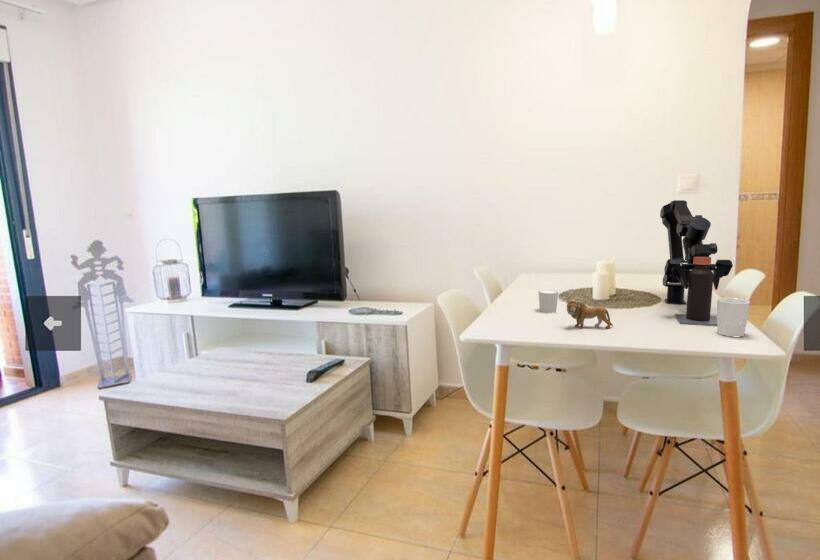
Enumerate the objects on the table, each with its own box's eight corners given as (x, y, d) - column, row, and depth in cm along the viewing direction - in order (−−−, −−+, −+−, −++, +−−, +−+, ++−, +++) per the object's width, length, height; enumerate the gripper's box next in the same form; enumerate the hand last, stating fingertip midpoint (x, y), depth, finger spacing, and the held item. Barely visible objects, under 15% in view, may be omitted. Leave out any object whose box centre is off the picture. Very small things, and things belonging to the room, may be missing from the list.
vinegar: (680, 317, 166) (685, 256, 162) (697, 315, 167) (702, 255, 164) (697, 322, 159) (702, 258, 156) (715, 320, 161) (720, 257, 158)
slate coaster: (674, 315, 171) (674, 313, 171) (715, 317, 167) (715, 315, 167) (679, 323, 160) (679, 322, 160) (723, 326, 156) (723, 324, 155)
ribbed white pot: (538, 312, 179) (538, 293, 178) (537, 308, 185) (538, 289, 184) (558, 313, 177) (558, 293, 176) (557, 309, 184) (558, 290, 183)
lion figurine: (569, 330, 155) (570, 301, 153) (563, 326, 160) (564, 298, 159) (616, 329, 155) (617, 300, 154) (609, 324, 161) (610, 296, 159)
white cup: (715, 336, 146) (718, 302, 144) (714, 329, 153) (716, 297, 151) (748, 339, 142) (751, 304, 140) (745, 332, 149) (748, 299, 147)
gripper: (668, 234, 165) (675, 273, 156) (733, 234, 160) (743, 274, 151) (661, 255, 174) (667, 293, 165) (722, 256, 169) (731, 295, 160)
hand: (701, 288), depth 160 cm, fingers open, 8 cm apart
